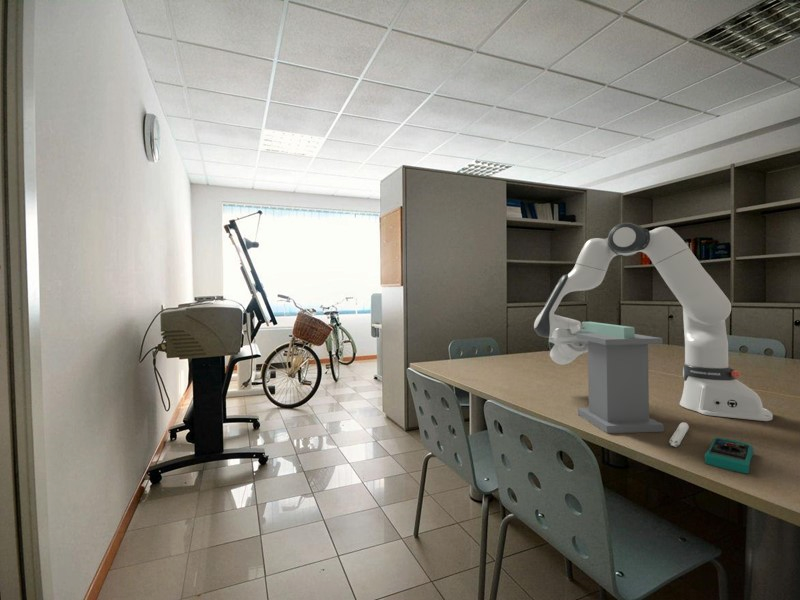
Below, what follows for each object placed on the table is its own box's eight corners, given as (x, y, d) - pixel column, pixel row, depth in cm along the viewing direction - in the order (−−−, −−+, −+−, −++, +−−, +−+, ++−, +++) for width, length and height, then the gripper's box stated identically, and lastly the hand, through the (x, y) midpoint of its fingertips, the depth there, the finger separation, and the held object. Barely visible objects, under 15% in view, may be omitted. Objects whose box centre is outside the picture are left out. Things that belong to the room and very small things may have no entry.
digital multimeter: (753, 455, 88) (753, 442, 88) (748, 476, 78) (748, 462, 78) (713, 446, 93) (713, 434, 93) (704, 465, 83) (704, 452, 83)
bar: (582, 330, 127) (582, 321, 127) (590, 330, 127) (590, 321, 127) (624, 338, 104) (624, 327, 104) (634, 338, 104) (634, 327, 104)
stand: (577, 414, 118) (576, 333, 118) (627, 413, 118) (625, 332, 118) (606, 433, 102) (605, 339, 102) (663, 431, 102) (662, 338, 102)
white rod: (678, 450, 91) (678, 441, 91) (667, 448, 92) (667, 438, 92) (688, 430, 104) (688, 422, 104) (679, 428, 105) (679, 420, 105)
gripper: (545, 334, 137) (559, 317, 125) (599, 333, 137) (619, 316, 125) (548, 350, 134) (564, 335, 121) (604, 349, 134) (625, 333, 122)
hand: (592, 325), depth 123 cm, fingers open, 6 cm apart
